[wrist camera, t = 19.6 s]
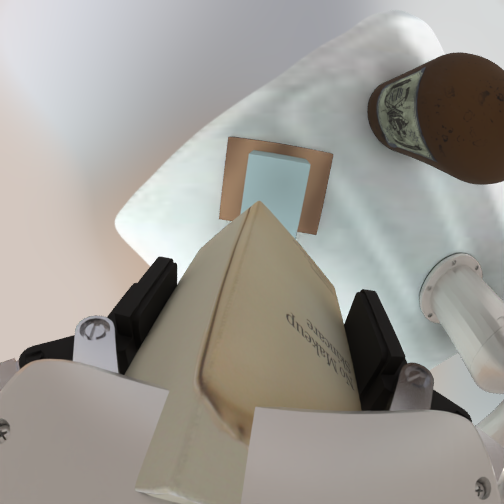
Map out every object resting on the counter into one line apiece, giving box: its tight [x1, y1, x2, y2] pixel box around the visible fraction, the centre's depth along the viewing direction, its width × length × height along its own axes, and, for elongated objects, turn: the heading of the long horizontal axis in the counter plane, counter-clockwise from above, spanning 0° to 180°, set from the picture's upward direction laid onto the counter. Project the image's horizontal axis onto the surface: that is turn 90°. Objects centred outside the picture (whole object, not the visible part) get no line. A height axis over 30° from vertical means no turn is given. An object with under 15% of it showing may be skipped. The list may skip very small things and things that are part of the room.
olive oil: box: [368, 53, 504, 184], centre depth 17 cm, size 11×11×25 cm
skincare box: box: [125, 201, 362, 504], centre depth 9 cm, size 6×4×12 cm
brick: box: [240, 150, 311, 239], centre depth 30 cm, size 6×8×5 cm
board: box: [219, 137, 333, 235], centre depth 33 cm, size 12×10×2 cm
